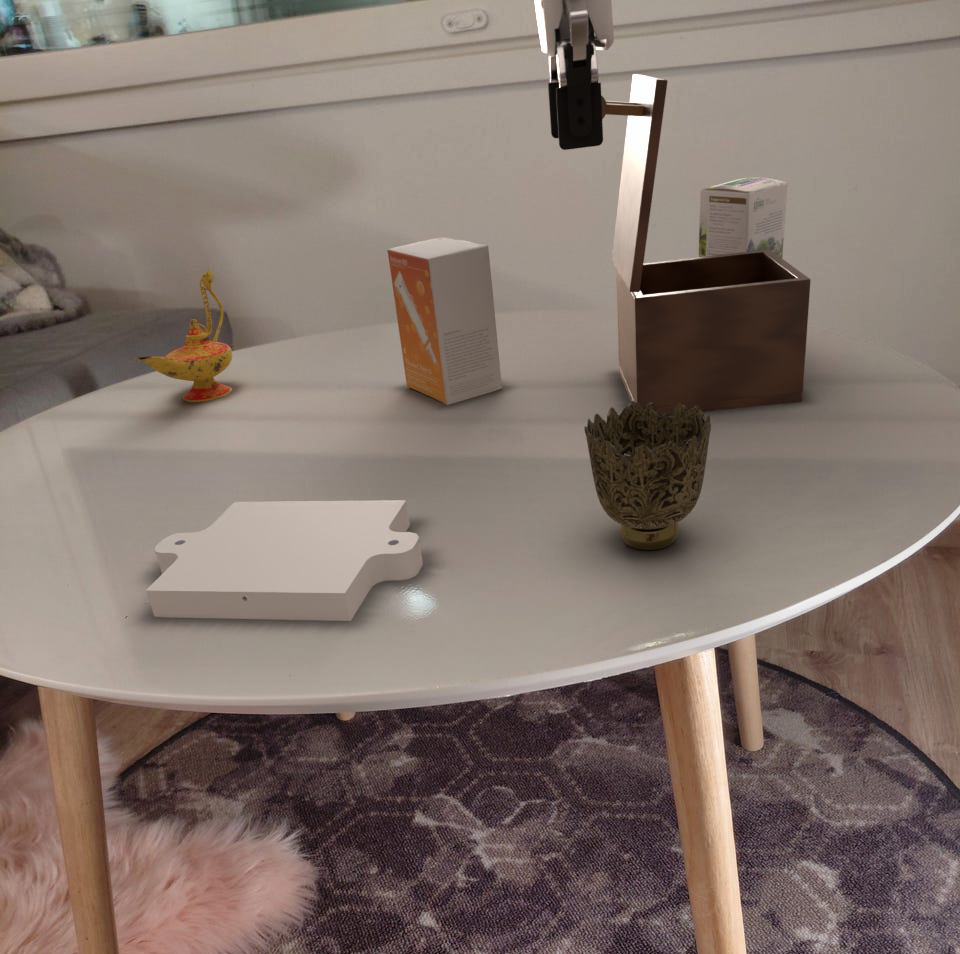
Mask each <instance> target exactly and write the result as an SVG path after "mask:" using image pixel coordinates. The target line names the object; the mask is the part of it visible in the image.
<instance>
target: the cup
mask: <svg viewBox="0 0 960 954" xmlns="http://www.w3.org/2000/svg"><path fill="white" fill-rule="evenodd" d="M642 408H643V407H642V406H640V405H639V404H638V403H637V402H635V401H632V402H631V401H630V402H629V403H628V404H627V405H626V406H625V407H624V408H623V410H622V411H621V413H620V414H618V412H617V411H616V409H615V408H614V407H613V406H610V408H609V410H608V413H607V414H606V420H605V419H603V418H602V417H601V415H600V414H599V413H595V414H594V417H593V421H592V420H591V418H588V419H587V422H586V423H587V424H586V425H584V427H583V428H584V429H583V430H584V433H585V437H586V438H585V439H586V443H587V450H588V455H589V461H590V465H591V466H590V468H591V473H592V478H593V483H594V488H595V492H596V495H597V498H598V501H599V504H600V505H601V507H602V510H603V511H604V512H605V513H606V514H607V516H608V517H609V518H610V519H611V520H613V521H614V522H615V523H618V524H619V525H620V528H619V534H620V536H621V538H622V540H623V542H624V543H625V544H626V545H628V546H629V547H630V548H634V549H637V550H643V551H653V550H654V551H655V550H659V549H663V548H666V547H668V546H670V545H671V544H672V543H674V542H675V541H676V539H677V536H678V534H679V531H680V526H679V522H681V521H683V520H684V519H685V518H687V516H688V515H690V514H691V513H692V511H693V509H695V507H696V505H697V502H698V500H699V498H700V495H701V492H702V489H703V485H704V479H705V474H706V466H707V458H708V450H709V443H710V436H711V435H710V434H711V431H712V430H711V429H712V423H711V416H710V414H709V415H707V417H706V415H705V413H704V412H702V411H701V409H700V407H699V406H695V407H694V408H692V409H690V410H689V411H687V410H686V406H685V405H683V404H681V403H679V404H678V405H677V406H676V407H675V409H674V413H673V414H674V415H673V414H672V415H668V414H666V413H665V414H659V415H658V413H657V412H656V411H655V405H654V403H652V402H650V403H649V404H648V405H647V407H646V409H645V410H643V409H642ZM661 415H663V416H661Z"/></svg>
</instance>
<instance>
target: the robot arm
mask: <svg viewBox="0 0 960 954" xmlns="http://www.w3.org/2000/svg"><path fill="white" fill-rule="evenodd" d="M612 4H613V3H612V0H534V8H535V17H536V23H537V31H538V36H539V42H540V47H541V52H542V53H543V54H545V55H546V56H548V66H549V67H548V69H549V82H547V89H548V90H547V92H548V106H549V107H548V108H549V120H550V121H549V123H550V135H551V137H552V138H553V139H558V145H559V148H560V149H561V150H563V151H567V150H575V149H576V150H577V149H583V148H584V149H585V148H591V147H598V146H601V145H603V142H604V127H603V125H604V124H603V119H602V100H601V95H602V82H599V66H598V58H597V56H598V55H597V51H608V50H609V49H610V48H611V47H612V46H613V44H614V40H615V37H614V36H615V33H614V20H613V6H612Z"/></svg>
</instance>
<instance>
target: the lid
mask: <svg viewBox="0 0 960 954" xmlns="http://www.w3.org/2000/svg"><path fill="white" fill-rule="evenodd" d="M667 89H668V79H666V78H665V79H664V78H660V77H655V76H651V75H646V74H640V73H633V74H632V78H631V87H630V96H629V101H616V100H615V101H614V100H606V99H605V97H604V96H603V95H602V94H601V100H602V120H604V118H605V117H606V115H608V116H609V115H611V116H626V117H627V123H626V131H625V139H624V147H623V157H622V165H621V173H620V182H619V191H618V199H617V209H616V217H615V225H614V226H615V227H614V233H613V241H612V242H613V243H612V251H611V260H610V261H611V262H612V264H613V266H614V267H615V270H616V269H617V271H618V273H619V274H620V276H621V278H622V279H623V281H624V283H625V285H626V286H627V288H628V290H629V291H630V292H640V286H641V278H642V271H643V263H645V254H646V246H647V239H648V232H649V225H650V216H651V210H652V203H653V201H652V200H653V196H654V195H653V194H654V189H655V188H654V187H655V179H656V172H657V164H658V156H659V151H660V150H659V149H660V142H661V134H662V126H663V119H664V112H665V106H666V105H665V103H666V95H667Z"/></svg>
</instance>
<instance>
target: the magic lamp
mask: <svg viewBox="0 0 960 954" xmlns="http://www.w3.org/2000/svg"><path fill="white" fill-rule="evenodd" d="M214 279H215V278H214V274H213V273H212V272H211V270H210V269H208V270H206V271H204V273H203V274H202V277H201V278H200V281H199V288H200V289H199V290H200V293H201V294H200V295H201V297H202V298H201V299H202V302H203V306H204V313H205V320H206V325H203V324H201V323H199V322H198V320H197V319H196V318H195V319H193V318H192V319H190V320H189V325H188V327H189V330H188V333H187V335H186V336H185V339H184V345H182V346H181V347H179V348H177V349H174V350H172V351H171V352H169V353H167V354H166V355H164V356H153V355H152V356H151V355H150V356H139V357H135V358H134V359H133V362H136V363H139V362H141V363H144V364H146V365H147V366H149V367H150V368H151V369H153V370H155V371H156V372H158V373H159V374H161V375H163V376H166V377H169V378H171V379H174V380H175V379H176V380H179V381H180V380H181V381H187V382H193V383H192V386H191V388H190V389H189V390H188V391H187V392H186V393H184V394H183V396H182V400H183V401H185V402H189V403H200V402H209V401H214V400H217V399H220V398H222V397H225V396H227V395H229V394H230V393H231V392H232V391H233V388H232V387H231V386H228V385H226V384H222V383H221V382H218V381H217V380H216V378H214V377H216V376H218V375H219V374H221V373H223V372H224V371H225V370H226V369H227V368H228V367H229V366H230V364H231V362H232V359H233V351H232V348H231V347H230V345H228V344H227V343H224V342H221V341H220V342H219V341H218V338H219V335H220V332H221V330H222V329H221V328H222V325H223V321H224V315H225V314H224V308H223V305H222V302H221V301H220V298H218V296H217V295H216V294H215V292H214V291H213V289H212V285H213V282H214ZM202 285H203V286H202ZM207 291H208V292H209V294H210V295H211V296H212V298H213V299H214V300H215V302H216V303H217V305H218V307H219V308H218V309H219V312H220V313H219V315H220V316H219V321H218V323H217V328H216V331H215V332H214V333H215V334H214V336H213V338H212V340H211V338H210V337H209V336H210V335H211V334H212V332H213V320H212V312H211V311H212V310H211V306H210V302H209V298H208V293H207ZM201 327H202V328H201Z"/></svg>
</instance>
